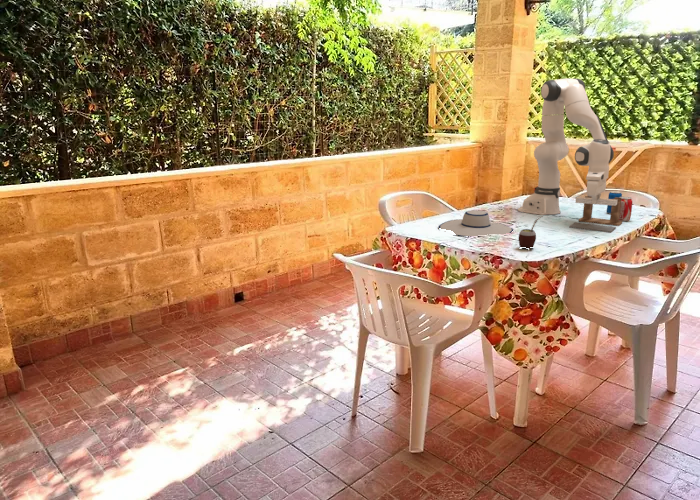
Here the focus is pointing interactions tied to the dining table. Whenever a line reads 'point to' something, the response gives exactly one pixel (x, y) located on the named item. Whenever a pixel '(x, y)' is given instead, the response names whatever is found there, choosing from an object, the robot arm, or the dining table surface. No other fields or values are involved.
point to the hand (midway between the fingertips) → (595, 203)
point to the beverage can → (612, 196)
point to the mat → (592, 227)
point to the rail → (599, 201)
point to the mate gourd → (527, 237)
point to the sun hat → (475, 225)
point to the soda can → (625, 209)
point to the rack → (613, 219)
